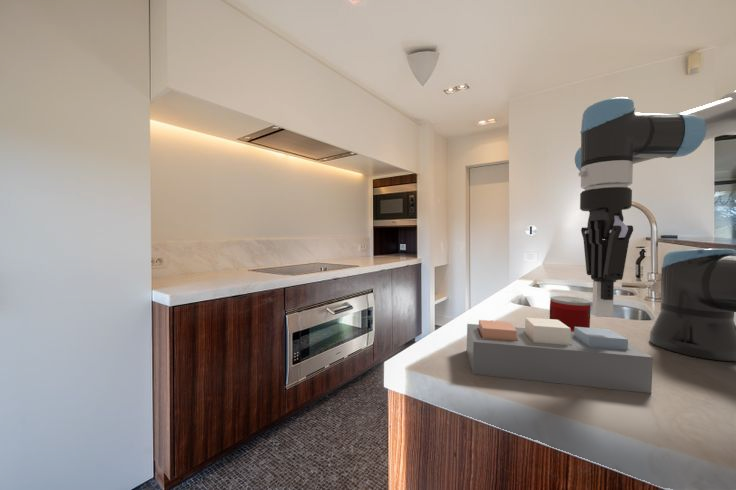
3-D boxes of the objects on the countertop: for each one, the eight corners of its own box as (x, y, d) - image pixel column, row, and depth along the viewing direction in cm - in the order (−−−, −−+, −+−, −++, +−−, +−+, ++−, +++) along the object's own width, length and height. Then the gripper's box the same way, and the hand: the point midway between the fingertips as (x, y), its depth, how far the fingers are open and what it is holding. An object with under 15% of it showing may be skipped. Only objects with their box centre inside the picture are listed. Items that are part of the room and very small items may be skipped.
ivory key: (557, 344, 61) (557, 319, 61) (569, 355, 56) (570, 328, 55) (524, 341, 63) (525, 317, 63) (533, 352, 57) (534, 325, 57)
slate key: (608, 354, 60) (609, 329, 59) (626, 367, 54) (628, 339, 54) (573, 351, 61) (574, 326, 61) (588, 363, 55) (589, 336, 55)
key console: (610, 363, 62) (612, 334, 62) (651, 393, 50) (652, 357, 50) (466, 350, 68) (467, 323, 68) (472, 373, 57) (473, 341, 56)
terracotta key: (508, 345, 63) (509, 322, 63) (515, 357, 58) (516, 330, 57) (478, 343, 65) (478, 319, 65) (482, 353, 59) (482, 328, 59)
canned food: (595, 352, 68) (597, 303, 68) (556, 349, 70) (557, 301, 69) (579, 341, 76) (580, 296, 75) (544, 338, 77) (545, 295, 77)
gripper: (567, 194, 63) (565, 307, 64) (600, 183, 51) (597, 324, 51) (609, 192, 62) (606, 308, 63) (653, 181, 49) (649, 327, 50)
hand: (602, 315), depth 57 cm, fingers closed
